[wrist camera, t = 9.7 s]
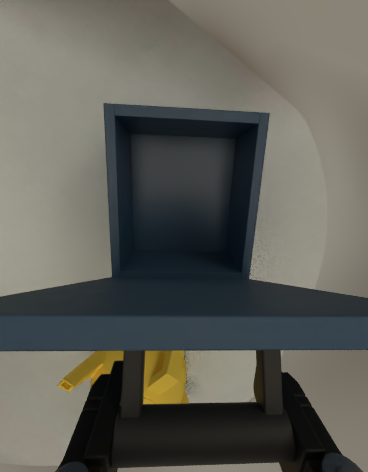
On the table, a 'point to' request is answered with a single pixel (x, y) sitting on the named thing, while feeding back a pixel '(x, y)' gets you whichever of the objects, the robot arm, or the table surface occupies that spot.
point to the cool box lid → (189, 338)
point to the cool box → (183, 190)
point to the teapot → (155, 374)
